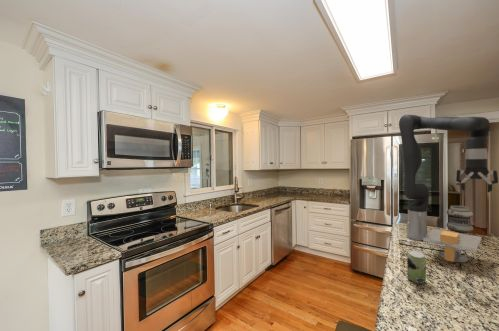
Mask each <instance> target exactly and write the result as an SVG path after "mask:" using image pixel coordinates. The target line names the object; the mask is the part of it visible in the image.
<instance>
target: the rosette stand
mask: <svg viewBox="0 0 499 331" xmlns="http://www.w3.org/2000/svg"><path fill="white" fill-rule="evenodd" d="M443 231H445V230H444V229H437V228H432V229H431V230H430V231H429V232H427V235H426V236H425V237H424V238H423V241H422V242H427V243H433V244H437V245H442V246H445V245H446V246H451V247H455V260H454V262H453V263H458V264H466V263H468V261H469V259H468V257H466V256H465V255H462V254H461V250H465V251H470V252H475V253H476V252H477V251H478V248H479V246H480V244H481V241H482V236H478V235H473V234H467V233H465V234H462V233H459V241H458V243H457V244H454V243H449V242H444V241H440V234H441V233H442V232H443ZM447 231H448V232H454V233H458V232H455V231H453V230H447ZM439 256H440V258H441V259H443V260H445V251H442V252H439Z"/></svg>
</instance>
